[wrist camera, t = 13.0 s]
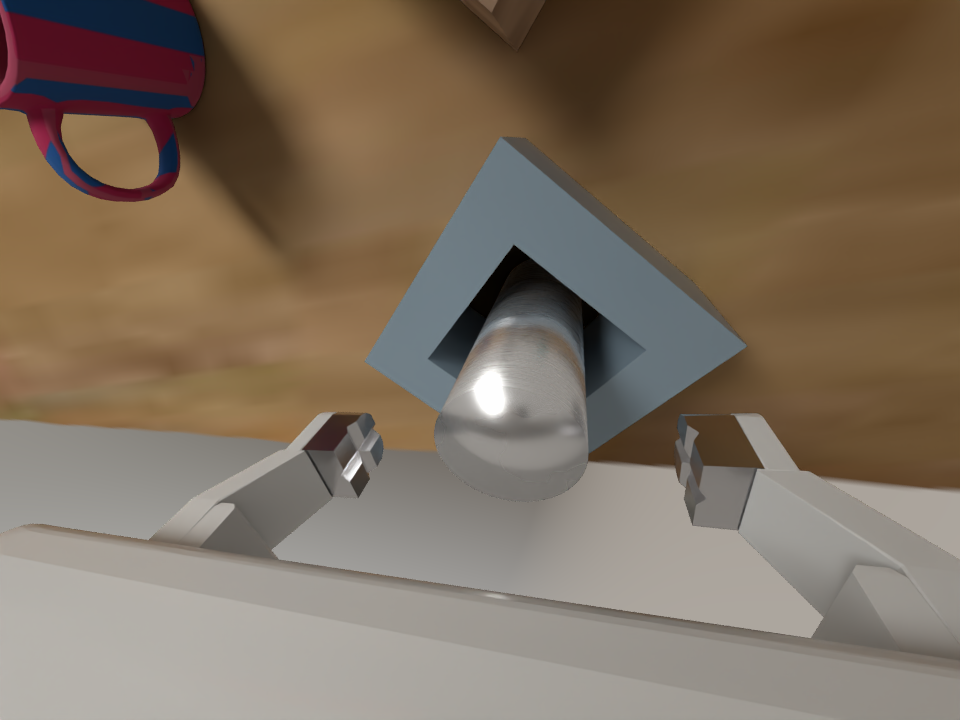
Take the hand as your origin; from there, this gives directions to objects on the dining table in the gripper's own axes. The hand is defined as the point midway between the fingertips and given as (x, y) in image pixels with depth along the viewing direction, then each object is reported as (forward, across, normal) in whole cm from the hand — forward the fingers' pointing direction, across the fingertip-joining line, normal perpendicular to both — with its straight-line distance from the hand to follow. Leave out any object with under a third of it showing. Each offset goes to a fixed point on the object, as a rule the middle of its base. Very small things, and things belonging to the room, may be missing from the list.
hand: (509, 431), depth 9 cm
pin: (+10, 0, 0) cm, 11 cm away
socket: (+10, 0, 0) cm, 11 cm away
